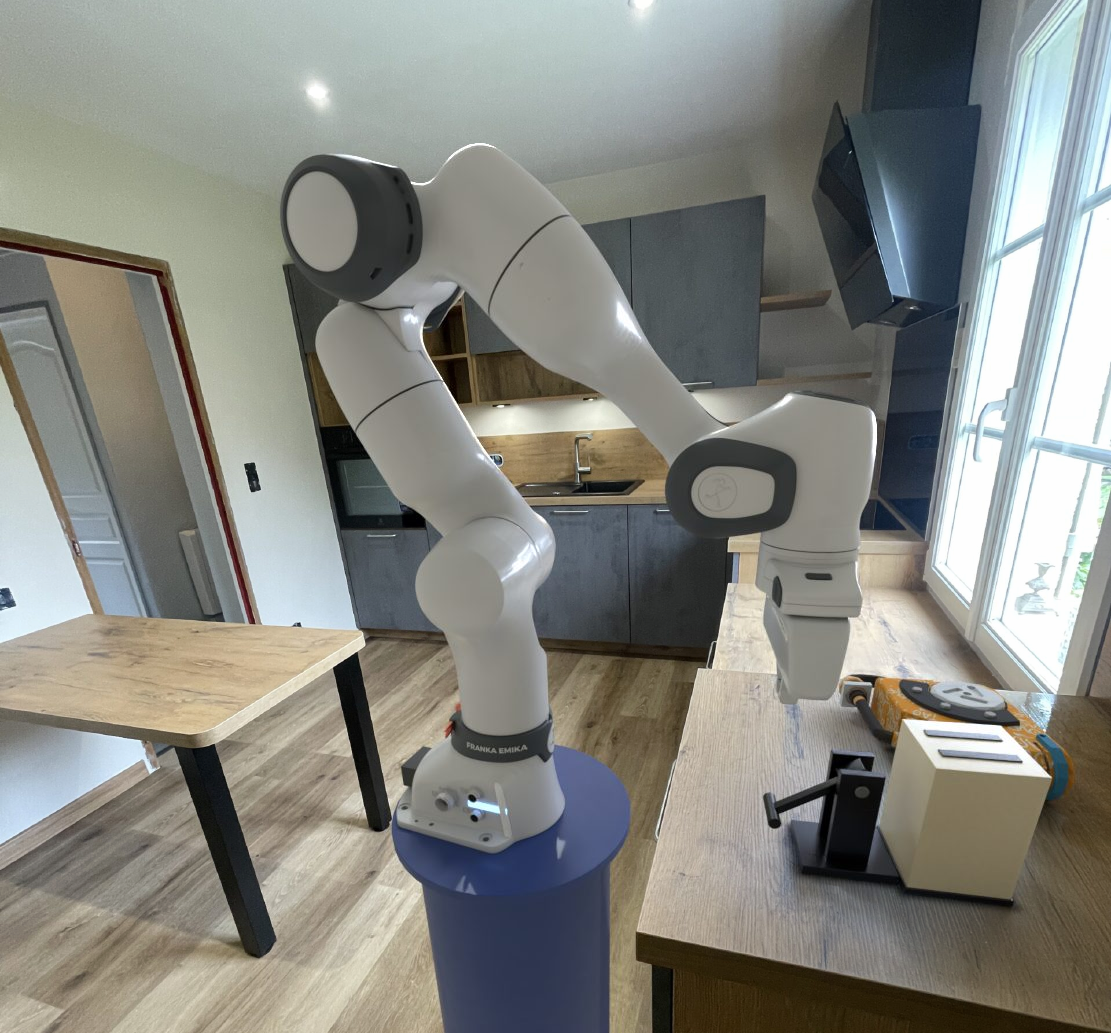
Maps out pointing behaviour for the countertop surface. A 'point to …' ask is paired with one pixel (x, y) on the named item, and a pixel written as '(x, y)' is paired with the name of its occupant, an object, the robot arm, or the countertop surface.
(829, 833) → the lever bracket
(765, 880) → the countertop surface
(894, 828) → the toaster
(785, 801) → the lever
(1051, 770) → the device
